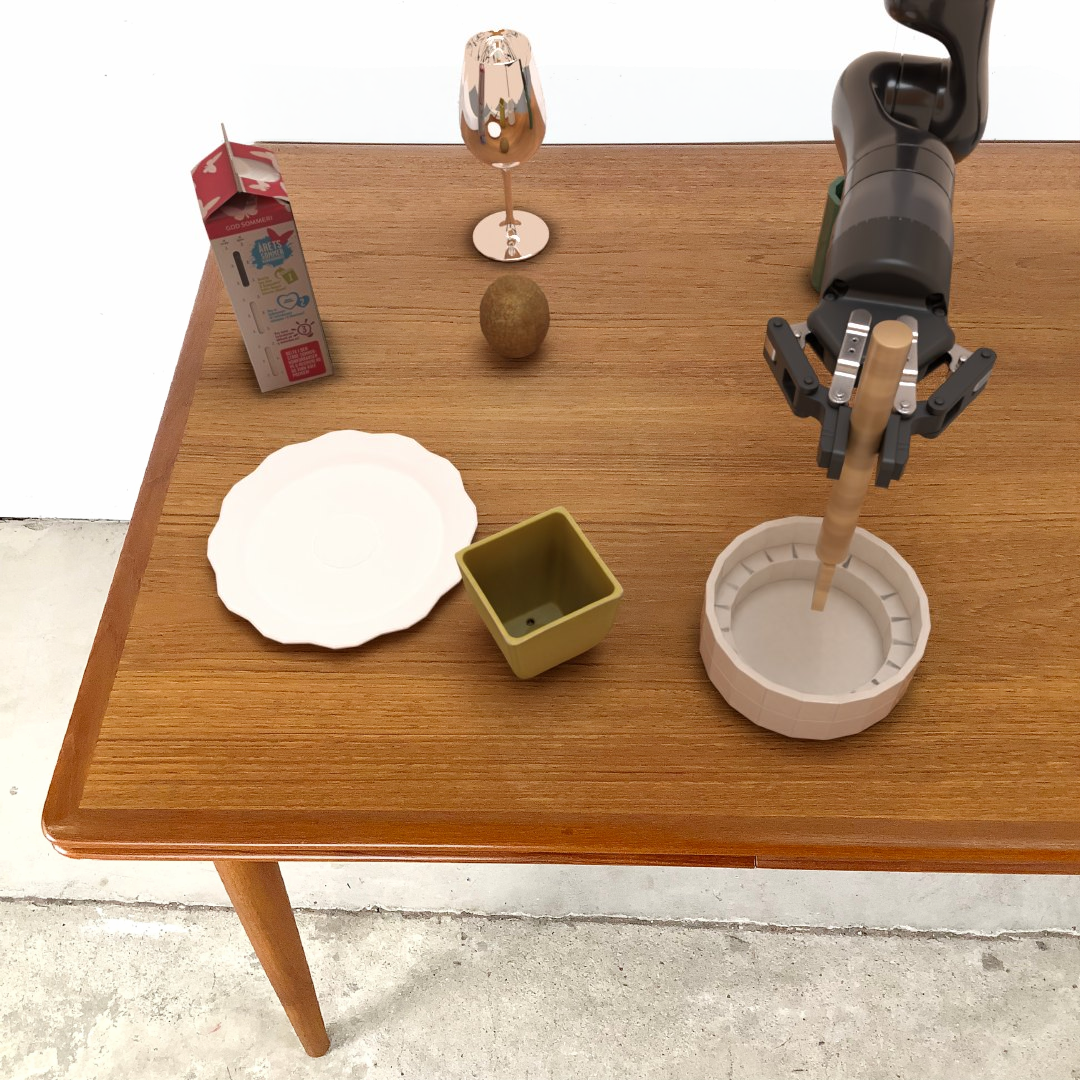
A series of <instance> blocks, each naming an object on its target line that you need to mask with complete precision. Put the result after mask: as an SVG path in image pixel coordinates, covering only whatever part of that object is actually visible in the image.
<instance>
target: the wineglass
mask: <svg viewBox="0 0 1080 1080" xmlns="http://www.w3.org/2000/svg"><path fill="white" fill-rule="evenodd" d="M462 59H463V61H462V67H461V73H460V74H461V75H460V85H459V94H458V125H459V130H460V135H461V138H462V141H463V143H464V144H465V146H466V148H467V150H468V151H469V153H470V154H471V155H472V156H473V157H474V158H475V159H476V160H477V161H479V162H481V163H482V164H484V165H487V166H489V167H491V168H495V169H499V170H500V172H501V176H502V182H503V193H504V194H503V196H504V206H505V207H504V208H505V209H504V210H502V211H498V212H495V213H492V214H490V215H487V216H486V217H484V218H483V219H482V220H480V221H479V222H478V223H477V225H475V228H474V230H473V232H472V243H473V245H474V247H475V249H476V250H477V251H478V252H479V253H480V254H481V255H483V256H484V257H486V258H488V259H491V260H494V261H498V262H505V263H506V262H507V263H509V262H510V263H512V262H520V261H524V260H527V259H530V258H532V257H535V256H536V255H538V254H539V253H540V252H541V251H543V250H544V249H545V247H546V246H547V245H548V242H549V240H550V229H549V227H548V225H547V224H546V223H545V221H544V220H543V219H542V218H541V217H540V216H537V215H536V214H534V213H532V212H528V211H525V210H518V209H517V210H515V209H514V208H513V207H514V206H513V193H512V172H513V171H512V170H513V169H514V168H516V167H517V168H518V167H519V166H521V165H523V164H525V163H526V162H528V161H529V160H531V159H532V158H533V157H534V156H535V154H536V153H537V152H538V150H539V149H540V147H541V146H542V144H543V142H544V138H545V136H546V133H547V123H548V122H547V121H548V120H547V119H548V117H547V107H546V100H545V95H544V91H543V87H542V82H541V77H540V73H539V70H538V69H539V68H538V66H537V62H536V59H535V55H534V52H533V48H532V45H531V41H530V39H529V38H528V37H527V36H526V35H525V34H523V33H522V32H520V31H517V30H514V29H511V28H491V29H486V30H482V31H480V32H477V33H475V34H474V35H472V36H471V37H469V39H468V40H467V41H466V43H465V46H464V53H463V58H462Z"/></svg>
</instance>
